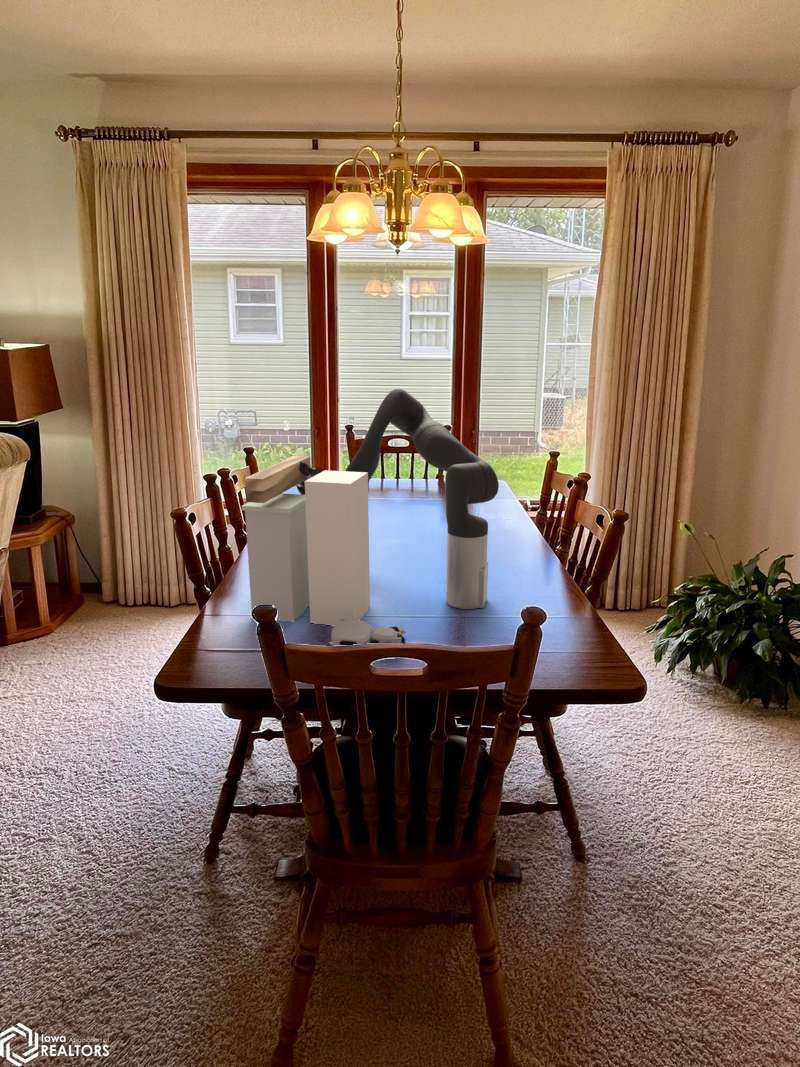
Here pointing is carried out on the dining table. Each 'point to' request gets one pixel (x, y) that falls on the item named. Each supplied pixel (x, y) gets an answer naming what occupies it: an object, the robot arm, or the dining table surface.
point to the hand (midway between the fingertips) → (291, 465)
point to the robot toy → (364, 633)
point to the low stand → (278, 554)
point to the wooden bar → (275, 479)
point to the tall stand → (337, 546)
